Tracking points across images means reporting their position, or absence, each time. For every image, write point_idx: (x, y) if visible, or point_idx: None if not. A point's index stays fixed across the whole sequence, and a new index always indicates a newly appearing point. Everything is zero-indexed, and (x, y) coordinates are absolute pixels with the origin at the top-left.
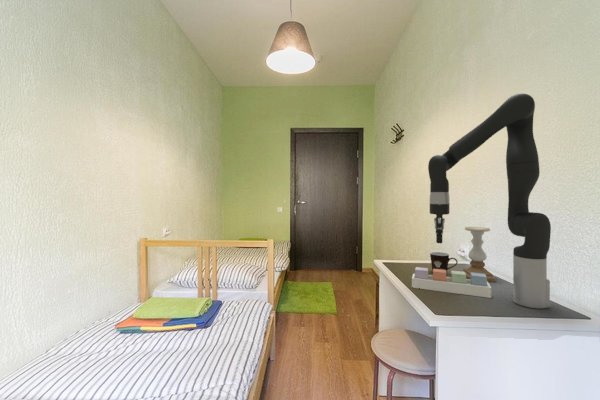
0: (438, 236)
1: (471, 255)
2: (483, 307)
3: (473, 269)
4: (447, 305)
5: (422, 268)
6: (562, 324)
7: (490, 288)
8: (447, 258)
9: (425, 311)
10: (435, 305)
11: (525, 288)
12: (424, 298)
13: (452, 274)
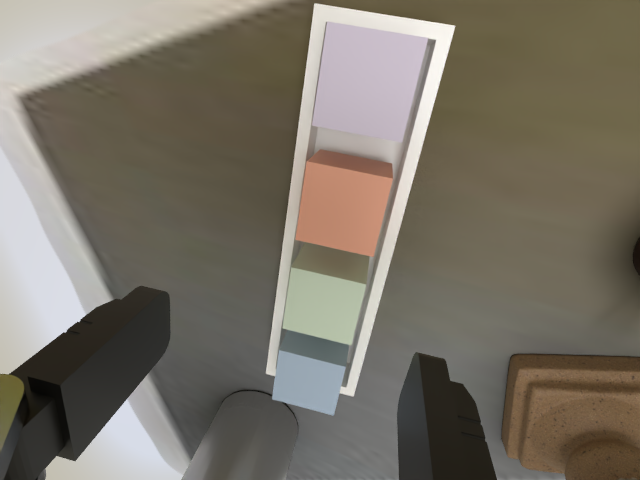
0: (37, 367)
1: None
2: (169, 284)
3: (570, 424)
4: (131, 165)
5: (382, 94)
6: (134, 412)
7: (267, 368)
8: None
9: (24, 59)
10: (107, 114)
11: (196, 452)
12: (171, 75)
13: (292, 267)
